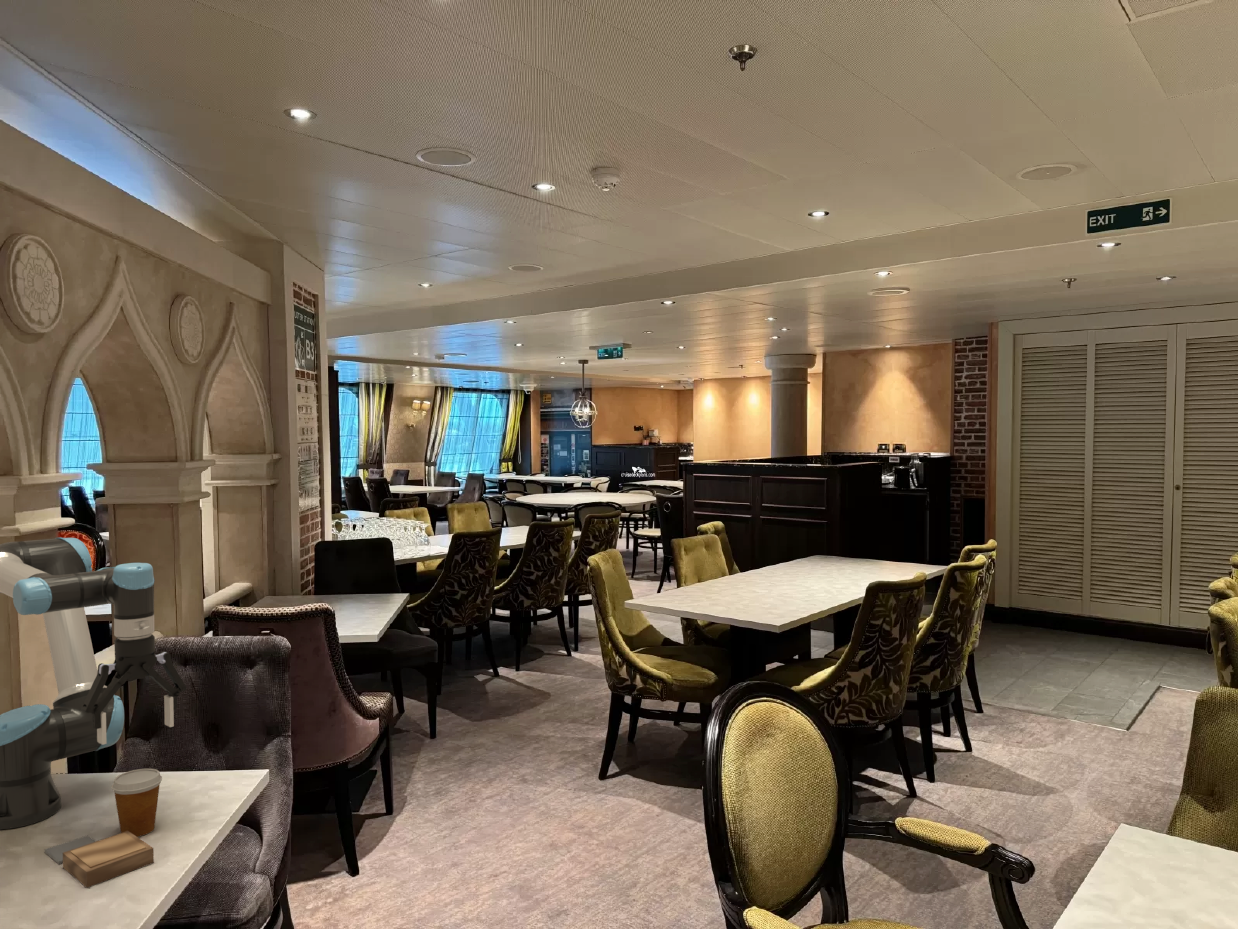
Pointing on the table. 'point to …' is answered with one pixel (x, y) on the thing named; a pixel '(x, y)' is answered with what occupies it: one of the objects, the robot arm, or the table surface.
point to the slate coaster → (67, 848)
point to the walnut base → (107, 858)
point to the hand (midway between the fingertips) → (136, 734)
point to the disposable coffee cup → (137, 800)
